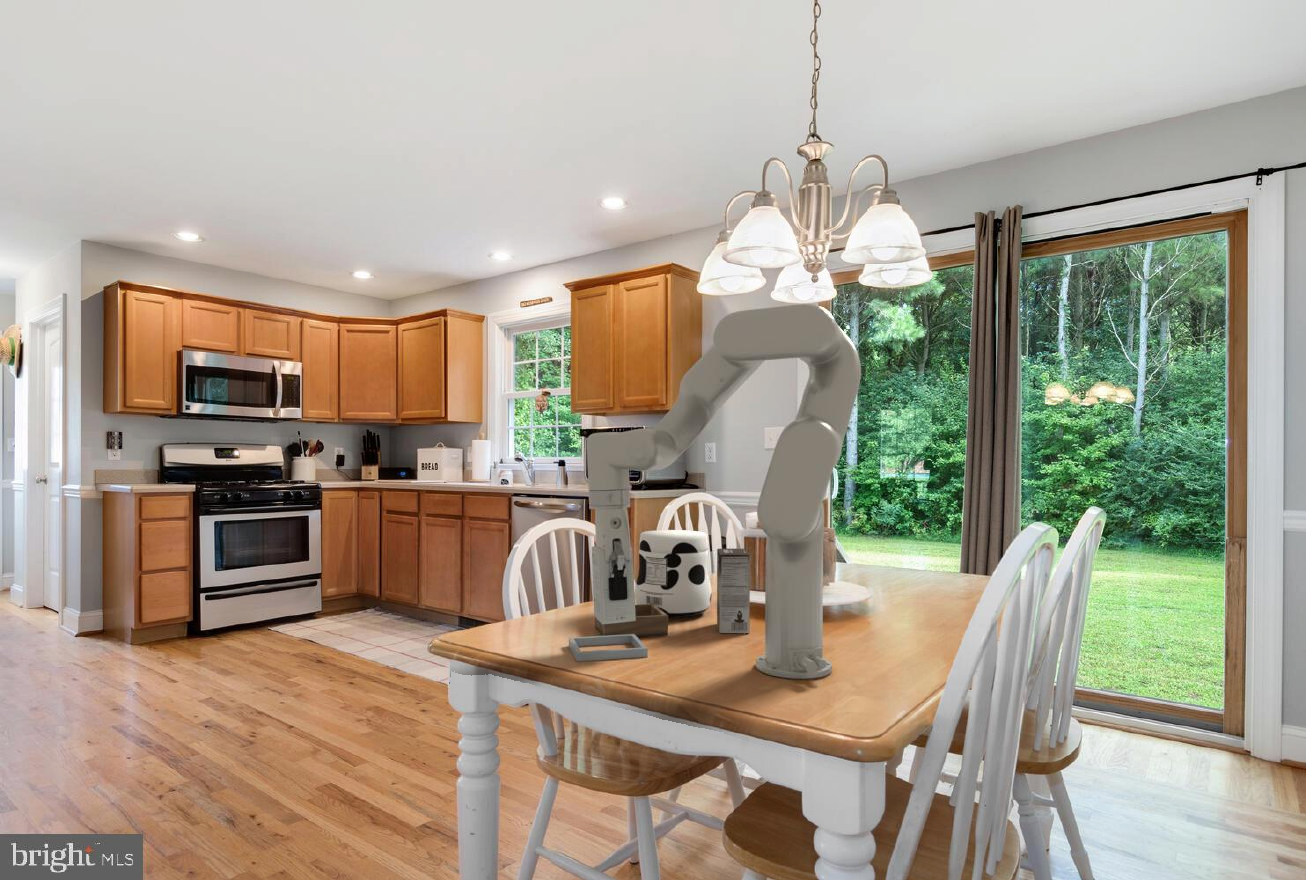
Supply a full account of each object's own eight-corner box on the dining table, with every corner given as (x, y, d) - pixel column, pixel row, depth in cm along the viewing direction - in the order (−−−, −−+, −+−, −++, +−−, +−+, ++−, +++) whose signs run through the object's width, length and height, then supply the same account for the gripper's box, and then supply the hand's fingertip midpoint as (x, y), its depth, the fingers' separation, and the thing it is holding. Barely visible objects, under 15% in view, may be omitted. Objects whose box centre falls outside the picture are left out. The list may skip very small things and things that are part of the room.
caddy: (667, 636, 147) (668, 615, 147) (605, 639, 144) (605, 618, 144) (653, 622, 158) (653, 603, 158) (594, 625, 155) (595, 606, 155)
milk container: (703, 604, 177) (704, 529, 178) (718, 621, 160) (719, 537, 160) (631, 606, 175) (631, 529, 176) (638, 622, 158) (639, 538, 158)
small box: (636, 621, 132) (633, 548, 132) (601, 625, 130) (598, 550, 131) (626, 612, 140) (623, 543, 140) (593, 616, 138) (590, 546, 139)
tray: (647, 656, 132) (647, 648, 132) (577, 661, 129) (577, 652, 129) (634, 641, 142) (634, 634, 142) (568, 645, 139) (568, 637, 139)
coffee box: (716, 623, 158) (716, 547, 158) (746, 623, 158) (746, 548, 158) (719, 634, 149) (719, 553, 149) (751, 634, 149) (751, 554, 149)
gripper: (640, 500, 128) (644, 602, 128) (619, 497, 145) (623, 586, 145) (597, 503, 126) (601, 606, 126) (581, 499, 143) (585, 590, 143)
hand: (613, 595), depth 135 cm, fingers closed on small box, 8 cm apart
